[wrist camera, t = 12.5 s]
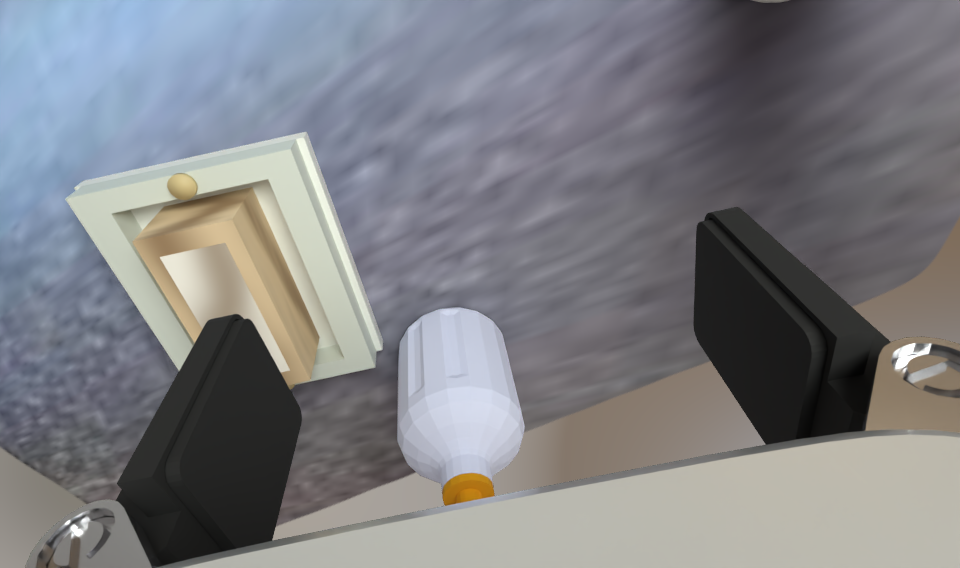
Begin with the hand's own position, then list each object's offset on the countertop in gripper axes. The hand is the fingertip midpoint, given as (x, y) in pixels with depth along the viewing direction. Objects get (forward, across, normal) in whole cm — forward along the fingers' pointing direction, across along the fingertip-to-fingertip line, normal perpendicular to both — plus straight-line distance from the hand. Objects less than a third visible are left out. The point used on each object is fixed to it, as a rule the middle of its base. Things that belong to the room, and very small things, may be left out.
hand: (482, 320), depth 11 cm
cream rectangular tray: (+27, +18, +11) cm, 34 cm away
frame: (+26, +17, +11) cm, 33 cm away
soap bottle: (+27, +5, +23) cm, 36 cm away
